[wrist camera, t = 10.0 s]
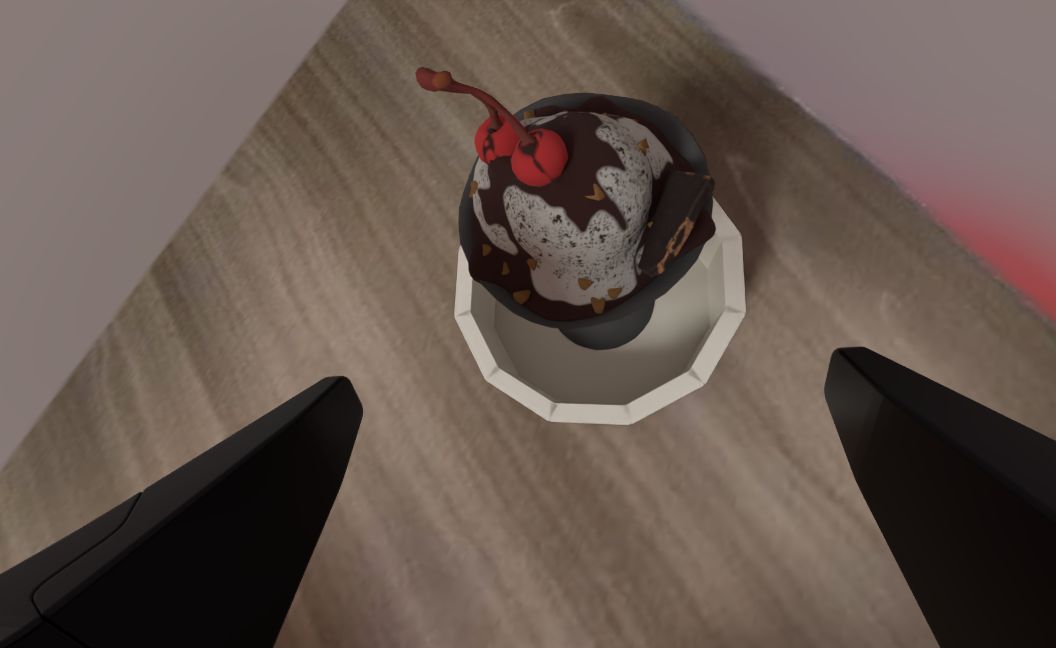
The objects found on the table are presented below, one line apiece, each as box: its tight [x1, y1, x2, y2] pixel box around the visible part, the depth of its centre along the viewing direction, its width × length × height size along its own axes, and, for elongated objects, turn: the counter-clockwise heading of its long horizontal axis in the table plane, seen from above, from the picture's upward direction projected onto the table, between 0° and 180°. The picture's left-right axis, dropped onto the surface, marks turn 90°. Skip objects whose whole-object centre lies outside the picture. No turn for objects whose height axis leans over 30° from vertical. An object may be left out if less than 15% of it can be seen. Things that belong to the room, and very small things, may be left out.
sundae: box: [416, 67, 716, 350], centre depth 14 cm, size 7×7×15 cm
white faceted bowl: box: [454, 197, 746, 425], centre depth 20 cm, size 11×11×4 cm
